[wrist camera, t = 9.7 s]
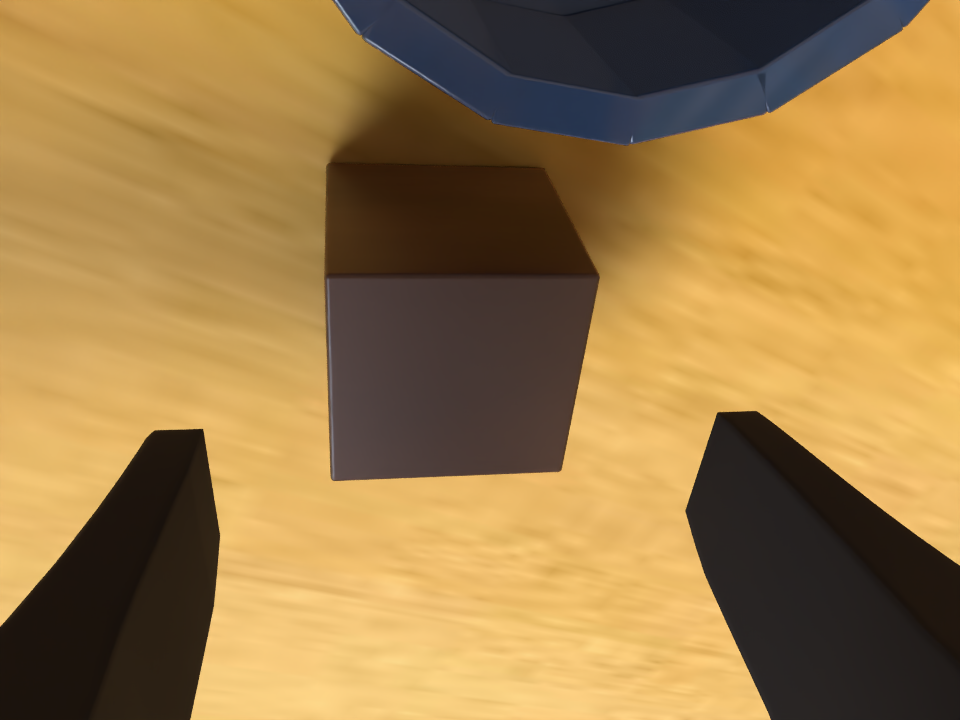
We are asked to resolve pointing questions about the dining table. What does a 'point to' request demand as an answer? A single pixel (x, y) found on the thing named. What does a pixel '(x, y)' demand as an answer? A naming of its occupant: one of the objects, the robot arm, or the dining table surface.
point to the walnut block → (451, 320)
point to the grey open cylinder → (625, 56)
